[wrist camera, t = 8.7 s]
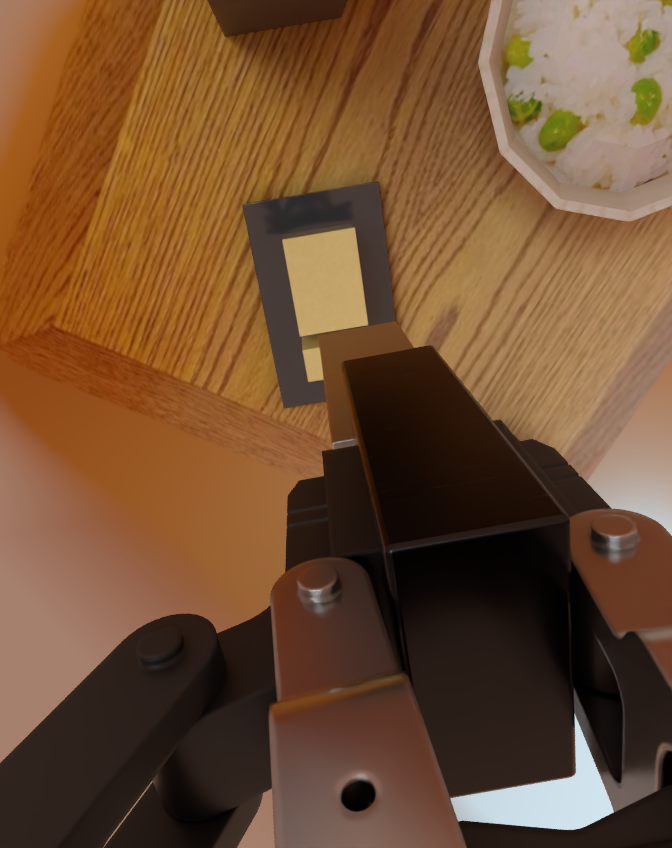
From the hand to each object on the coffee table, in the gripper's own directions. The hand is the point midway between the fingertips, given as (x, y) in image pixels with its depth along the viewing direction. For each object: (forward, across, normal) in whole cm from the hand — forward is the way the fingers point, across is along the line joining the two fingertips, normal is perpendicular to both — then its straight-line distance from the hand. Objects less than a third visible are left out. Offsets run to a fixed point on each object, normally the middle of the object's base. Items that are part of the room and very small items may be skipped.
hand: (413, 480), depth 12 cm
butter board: (+37, +1, +3) cm, 38 cm away
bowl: (+38, -20, -9) cm, 43 cm away
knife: (+12, 0, 0) cm, 12 cm away
